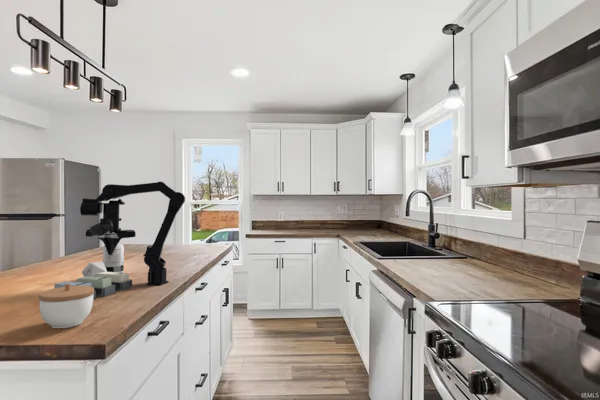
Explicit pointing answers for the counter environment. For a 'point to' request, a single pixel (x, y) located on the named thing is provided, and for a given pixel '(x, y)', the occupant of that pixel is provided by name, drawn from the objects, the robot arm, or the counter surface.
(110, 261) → the supplement can
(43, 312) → the lidded bowl
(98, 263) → the grey angular block
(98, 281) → the sage key
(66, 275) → the counter surface
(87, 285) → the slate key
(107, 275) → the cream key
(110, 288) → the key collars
